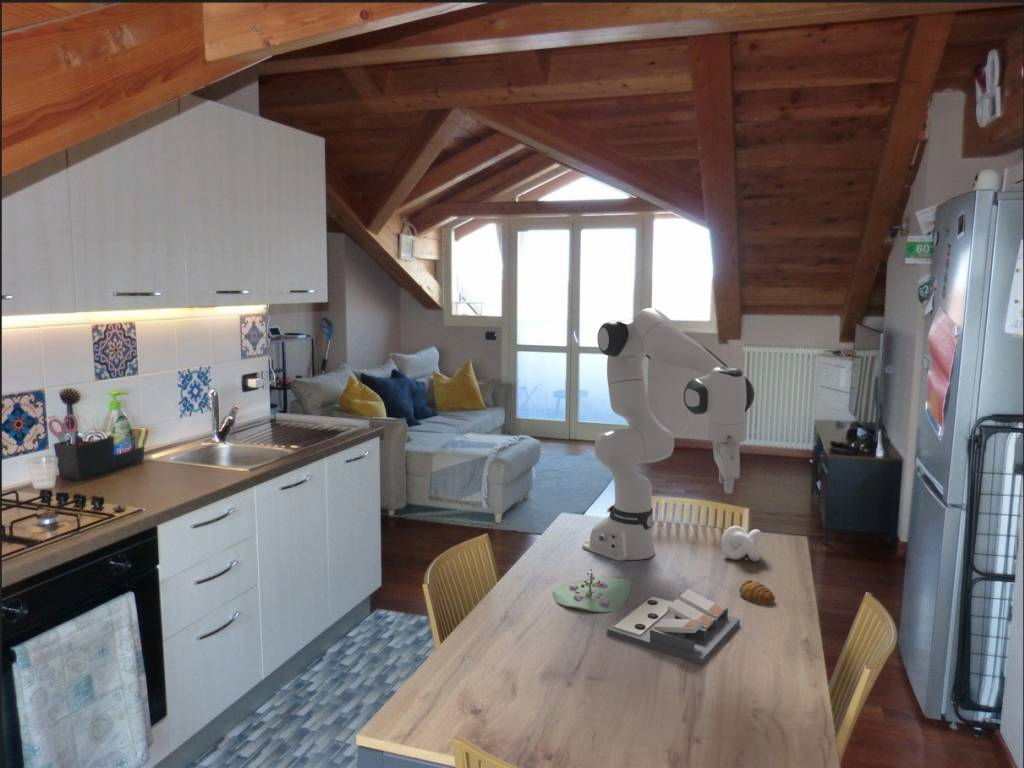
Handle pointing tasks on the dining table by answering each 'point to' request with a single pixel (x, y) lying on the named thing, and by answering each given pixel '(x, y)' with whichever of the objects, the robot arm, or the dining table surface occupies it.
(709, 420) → the robot arm
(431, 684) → the dining table surface
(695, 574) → the dining table surface
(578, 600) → the plant
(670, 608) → the switch middle
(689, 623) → the switch near
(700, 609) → the switch far
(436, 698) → the dining table surface
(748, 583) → the pastry
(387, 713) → the dining table surface
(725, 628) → the switch unit
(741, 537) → the white knot sculpture
